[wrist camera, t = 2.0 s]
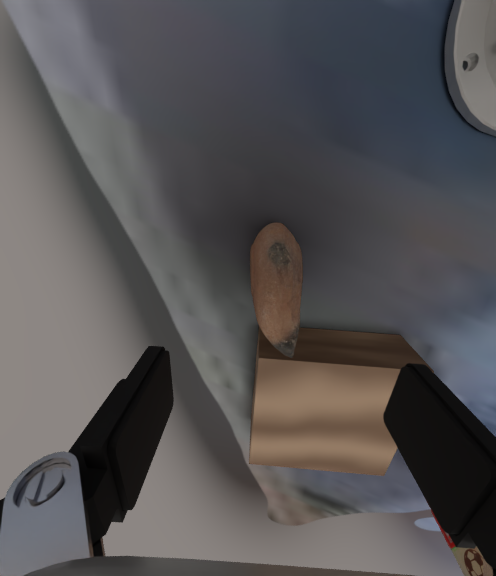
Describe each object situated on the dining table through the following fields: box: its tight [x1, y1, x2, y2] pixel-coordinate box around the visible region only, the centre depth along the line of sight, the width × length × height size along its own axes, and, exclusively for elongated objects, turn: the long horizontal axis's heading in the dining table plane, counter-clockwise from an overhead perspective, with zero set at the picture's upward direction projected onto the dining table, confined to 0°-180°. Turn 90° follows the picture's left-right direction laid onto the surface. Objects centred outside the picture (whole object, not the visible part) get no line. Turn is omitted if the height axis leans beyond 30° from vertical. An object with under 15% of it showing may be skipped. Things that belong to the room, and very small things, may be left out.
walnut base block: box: [249, 326, 434, 476], centre depth 24 cm, size 14×14×5 cm
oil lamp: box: [250, 223, 303, 358], centre depth 18 cm, size 9×4×8 cm, turn 10°
